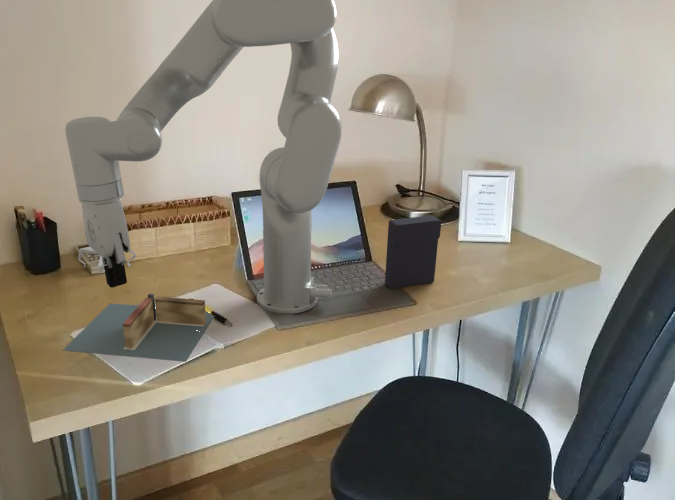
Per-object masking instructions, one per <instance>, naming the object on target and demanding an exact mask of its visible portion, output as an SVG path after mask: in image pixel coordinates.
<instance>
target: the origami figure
mask: <svg viewBox="0 0 675 500" xmlns="http://www.w3.org/2000/svg"><path fill="white" fill-rule="evenodd" d="M84 253H88V254H90V253H91V254H96V255H99V254H98V253H96V252H95V251H94V250H93V249H92V248H91V247H90V246H87V247H82V248H79V252H78V254H77V255H78V256H77V257H78V258H77V260H78V262H80V263H81V264H83V266H82V267H83V268H86V267H87V266H86V265H85V264H86V263H85V262H84V261H83V260H82V257H83V255H84ZM128 253H131V254H132V255H133V256H132V257H130V259H129V260H128V261H127V260H126V262H125V263H126V264H127V267H128V268H129V267H131V264H130V262H131V261H133V260H134V259H135V258H136V257H138V255H137V254H136V253H135V252H134V250H133V249H131V248H130V251H129V252H128ZM104 266H105V265H104V264H103V261H102V256H100V255H99V259H98V264H97V268H100V269H102V271H103V269H104ZM103 273H105V271H103Z"/></svg>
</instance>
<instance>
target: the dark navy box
mask: <svg viewBox="0 0 675 500" xmlns="http://www.w3.org/2000/svg"><path fill="white" fill-rule="evenodd" d="M387 227H388V228H387V242H386V244H387V245H386V260H385V273H384V275H385V276H384V284H385V285H386V286H387V287H388V288H390V289H391V290H394V289H400V288H407V287H413V286H419V285H424V284H425V285H426V284H430V283H431V284H432V283H434V281H435V276H436V266H437V265H436V264H437V255H438V247H439V245H438V244H439V239H440V237H441V231H442V230H441V229H442V220H441V219H439V218H437V217H436V216H434V215H433V214H431V215H423V216H422V215H421V216H415V217H414V216H413V217H406V218H405V217H404V218H396V219H390V220H389V221H388V226H387Z"/></svg>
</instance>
